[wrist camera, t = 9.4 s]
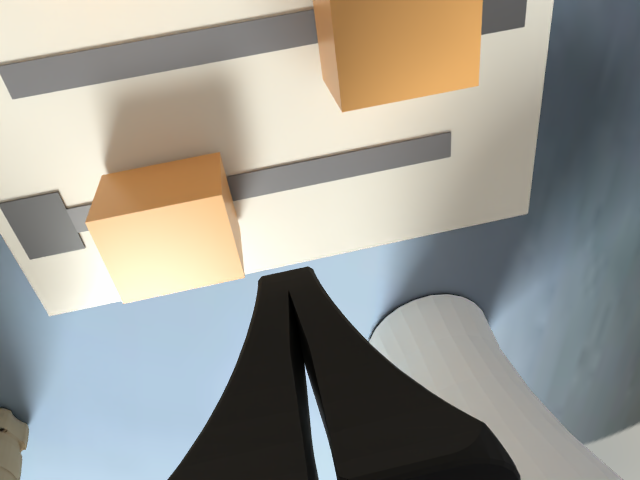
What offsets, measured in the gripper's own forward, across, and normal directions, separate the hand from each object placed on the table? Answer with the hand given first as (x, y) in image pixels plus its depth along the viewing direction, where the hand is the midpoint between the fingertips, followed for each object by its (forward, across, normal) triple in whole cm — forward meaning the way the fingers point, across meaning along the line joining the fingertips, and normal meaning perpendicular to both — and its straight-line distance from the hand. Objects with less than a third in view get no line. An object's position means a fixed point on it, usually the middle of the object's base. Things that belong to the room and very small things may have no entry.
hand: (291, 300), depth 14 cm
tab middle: (+6, -4, -5) cm, 9 cm away
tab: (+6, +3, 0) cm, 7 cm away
